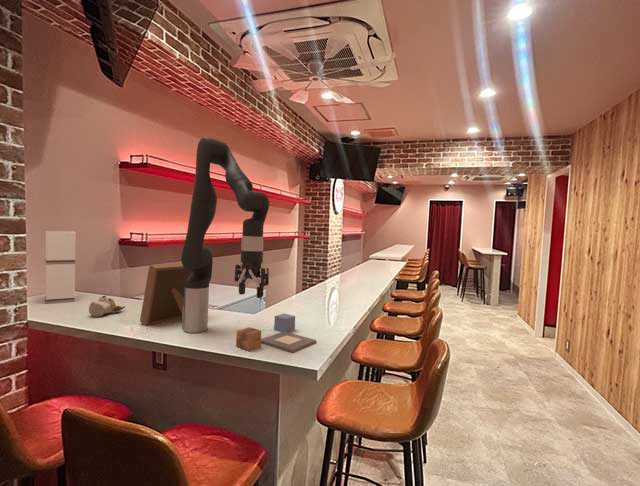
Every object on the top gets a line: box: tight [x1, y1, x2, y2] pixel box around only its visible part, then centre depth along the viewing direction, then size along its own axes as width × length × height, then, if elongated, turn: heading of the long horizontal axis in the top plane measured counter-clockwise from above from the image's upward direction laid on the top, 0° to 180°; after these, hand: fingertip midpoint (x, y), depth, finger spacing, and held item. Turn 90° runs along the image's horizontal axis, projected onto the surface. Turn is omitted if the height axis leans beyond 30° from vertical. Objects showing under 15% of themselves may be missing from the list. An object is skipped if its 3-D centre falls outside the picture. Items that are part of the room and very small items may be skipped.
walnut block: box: [235, 326, 262, 352], centre depth 121 cm, size 6×6×6 cm
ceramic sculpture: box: [88, 295, 126, 318], centre depth 154 cm, size 11×9×15 cm
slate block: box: [273, 313, 296, 333], centre depth 143 cm, size 6×6×6 cm
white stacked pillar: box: [44, 230, 77, 305], centre depth 174 cm, size 11×11×35 cm
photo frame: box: [139, 262, 191, 327], centre depth 147 cm, size 15×22×25 cm
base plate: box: [261, 331, 318, 354], centre depth 127 cm, size 16×14×1 cm
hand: (250, 295), depth 120 cm, fingers open, 8 cm apart
